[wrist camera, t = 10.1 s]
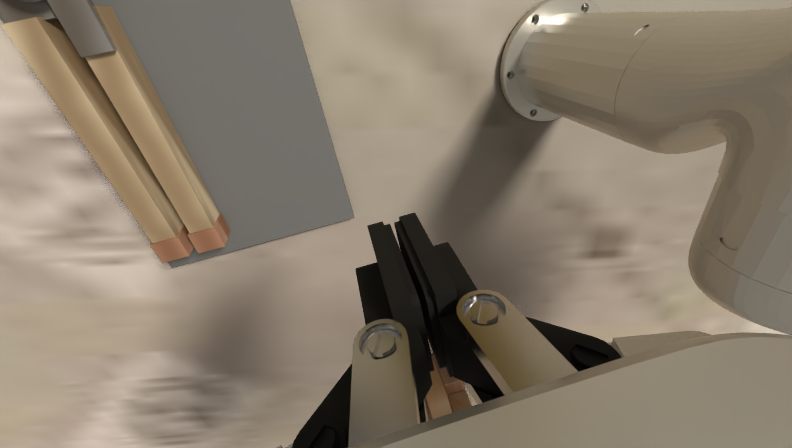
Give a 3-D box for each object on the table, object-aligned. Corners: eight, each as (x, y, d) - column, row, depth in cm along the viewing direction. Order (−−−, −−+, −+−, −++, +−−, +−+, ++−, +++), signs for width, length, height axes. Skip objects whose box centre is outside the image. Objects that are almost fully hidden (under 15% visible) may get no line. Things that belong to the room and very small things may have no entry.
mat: (248, -140, 27) (246, -144, 26) (353, 213, 44) (354, 217, 43) (-58, -82, 25) (-71, -86, 24) (174, 262, 42) (171, 267, 41)
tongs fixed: (55, -69, 26) (22, -80, 23) (221, 232, 41) (214, 249, 38) (-23, -54, 26) (-66, -63, 23) (173, 245, 40) (162, 263, 37)
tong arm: (71, -77, 26) (41, -89, 23) (230, 231, 40) (224, 248, 37) (-10, -62, 25) (-52, -72, 22) (180, 244, 40) (170, 262, 37)
